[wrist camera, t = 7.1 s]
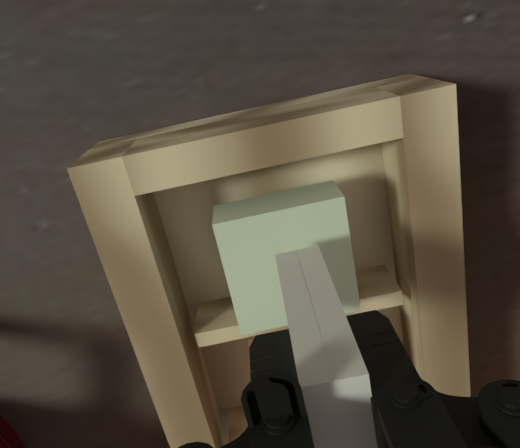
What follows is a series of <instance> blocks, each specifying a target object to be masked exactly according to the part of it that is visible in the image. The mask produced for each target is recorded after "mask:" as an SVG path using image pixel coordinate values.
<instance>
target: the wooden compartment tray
mask: <svg viewBox="0 0 520 448" xmlns="http://www.w3.org/2000/svg"><path fill="white" fill-rule="evenodd" d="M67 170H68V173H69V176H70V178H71V181H72V184H73V187H74V189H75V192H76V195H77V197H78V200H79V203H80V205H81V208H82V211H83V214H84V216H85V219H86V222H87V224H88V227H89V230H90V233H91V235H92V238H93V241H94V243H95V246H96V249H97V251H98V254H99V257H100V260H101V262H102V265H103V268H104V270H105V273H106V276H107V278H108V281H109V284H110V287H111V289H112V292H113V295H114V297H115V300H116V303H117V305H118V308H119V311H120V314H121V316H122V319H123V322H124V324H125V327H126V330H127V332H128V335H129V338H130V341H131V343H132V346H133V349H134V351H135V354H136V357H137V360H138V362H139V365H140V368H141V370H142V373H143V376H144V378H145V381H146V384H147V387H148V389H149V392H150V395H151V397H152V400H153V403H154V405H155V408H156V411H157V414H158V416H159V419H160V422H161V424H162V427H163V430H164V432H165V435H166V438H167V441H168V443H169V446H170V448H178V447H180V446H182V445H184V444H186V443H192V442H203V443H208V444H209V445H211V446H212V447H213V448H220V447H222V446H224V445H226V444H228V443H230V442H231V441H233V440H235V439H236V438H238V437H239V436H240V435H241V434H242V433H243V432H244V431H245V430H246V428H247V427H248V424H247V420H246V417H245V413H244V410H243V406H242V402H241V396H242V392H243V390H244V389H245V387H246V386H247V385H248V383H249V382H251V377H250V374H251V373H250V362H249V347H248V340H251V339H254V337H255V335H260V334H265V333H270V332H275V331H280V330H285V329H289V327H288V325H287V326H283V327H278V328H273V329H268V330H264V331H259V332H254V333H249V334H245V335H241V333H240V329H239V326H238V322H237V318H236V314H235V310H234V307H233V303H232V299H231V295H230V291H229V288H228V284H227V280H226V276H225V272H224V269H223V265H222V261H221V257H220V253H219V250H218V246H217V242H216V238H215V234H214V231H213V227H212V218H213V206H215V205H220V204H224V203H229V202H234V201H238V200H243V199H248V198H252V197H257V196H262V195H266V194H271V193H276V192H280V191H285V190H290V189H294V188H299V187H303V186H308V185H313V184H317V183H322V182H327V181H331V180H333V181H334V182H335V184H336V185H337V187H338V188H339V189H340V191H341V192H342V194H343V195H344V197H345V204H346V211H347V218H348V225H349V231H350V238H351V245H352V252H353V259H354V266H355V273H356V280H357V287H358V294H359V300H360V307H361V310H359V311H354V312H349V313H345V315H346V316H348V315H353V314H358V313H363V312H367V311H372V310H377V311H379V312H380V313H381V314H383V315H384V316H386V317H387V318H389V320H390V322H391V324H392V326H393V328H394V329H395V332H396V333H397V335H398V337H399V339H400V342H402V344H403V346H404V348H405V350H406V352H407V354H408V355H409V357H410V359H411V361H412V363H413V365H414V367H415V368H416V370H417V372H418V374H419V376H420V378H421V379H422V380H424V381H426V382H428V383H429V384H430V385H431V386H432V387H433V388H434V389H435V390H436V391H438V392H440V393H443V394H447V395H452V396H461V397H471V393H470V371H469V350H468V328H467V307H466V285H465V264H464V242H463V221H462V199H461V178H460V156H459V134H458V113H457V91H456V84H454V83H450V82H445V81H441V80H437V79H432V78H428V77H424V76H419V75H415V74H406V75H402V76H397V77H392V78H388V79H383V80H379V81H374V82H370V83H365V84H360V85H356V86H351V87H347V88H342V89H337V90H333V91H328V92H324V93H319V94H315V95H310V96H305V97H301V98H296V99H292V100H287V101H282V102H278V103H273V104H269V105H264V106H260V107H255V108H250V109H246V110H241V111H237V112H232V113H227V114H223V115H218V116H214V117H209V118H205V119H200V120H195V121H191V122H186V123H182V124H177V125H173V126H168V127H163V128H159V129H154V130H150V131H145V132H140V133H136V134H131V135H127V136H122V137H118V138H113V139H108V140H104V141H99V142H97V143H96V144H95V145H94V146H93V147H92V148H90V149H89V150H88V151H87V152H86V153H85V154H83V155H82V156H81V157H80V158H79V159H78V160H76V161H75V162H74V163H73V164H72V165H71V166H69V167H68V168H67Z"/></svg>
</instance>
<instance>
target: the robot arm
mask: <svg viewBox="0 0 520 448" xmlns="http://www.w3.org/2000/svg"><path fill="white" fill-rule="evenodd" d="M275 257H276V263H277V268H278V274H279V279H280V284H281V290H282V295H283V300H284V306H285V311H286V317H287V322H288V327H289V329H285V330H280V331H275V332H270V333H265V334H260V335H255V337H254V339H253V341H252V343H251V345H250V347H249V357H250V373H251V374H250V377H251V382H249V383H248V385H247V386H246V387H245V389H244V390H243V392H242V396H241V402H242V406H243V410H244V413H245V417H246V420H247V424H248V427H247V428H246V430H245V431H244V432H243V433H242V434H241V435H240V436H239V437H238V438H236V439H235V440H233V441H231V442H230V443H228V444H226V445H224V446H222V447H220V448H520V381H516V380H498V381H494V382H490V383H488V384H487V385H485V386H484V387H482V389H481V391H480V393H479V395H478V397H461V396H452V395H447V394H443V393H440V392H438V391H436V390H435V389H434V388H433V387H432V386H431V385H430V384H429V383H428V382H426V381H424V380H422V379H421V378H420V376H419V374H418V372H417V370H416V368H415V367H414V365H413V363H412V361H411V359H410V357H409V355H408V354H407V352H406V350H405V348H404V346H403V344H402V342H400V339H399V337H398V335H397V333H396V332H395V329H394V328H393V326H392V324H391V322H390V320H389V318H387V317H386V316H384V315H383V314H381V313H380V312H379V311H377V310H372V311H367V312H363V313H358V314H353V315H348V316H346V315H345V312H344V310H343V307H342V305H341V302H340V300H339V297H338V294H337V292H336V289H335V287H334V284H333V282H332V279H331V277H330V274H329V272H328V269H327V267H326V264H325V261H324V259H323V256H322V254H321V251H320V249H319V246H313V247H308V248H304V249H299V250H294V251H289V252H284V253H279V254H275ZM178 448H213V447H212V446H211V445H209V444H208V443H203V442H192V443H186V444H184V445H182V446H180V447H178Z"/></svg>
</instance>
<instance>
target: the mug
mask: <svg viewBox="0 0 520 448" xmlns="http://www.w3.org/2000/svg"><path fill="white" fill-rule="evenodd" d="M0 448H25V447H24V445H23V442H22V441H21V439H20V437H19V436H18V434H17V433H16V431H15V430H14V429H13V428H12V427H11V426H10V425H9V424H8V423H7V422H6V421H5V419H3V418H2V417H1V416H0Z"/></svg>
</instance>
